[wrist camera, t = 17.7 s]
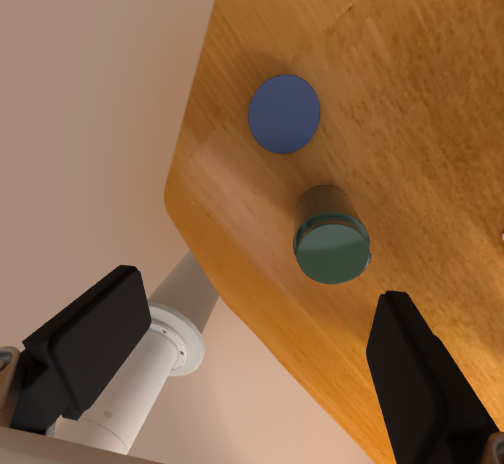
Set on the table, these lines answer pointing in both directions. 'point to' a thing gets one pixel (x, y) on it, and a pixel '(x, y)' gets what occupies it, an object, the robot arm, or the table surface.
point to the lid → (284, 114)
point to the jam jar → (329, 236)
